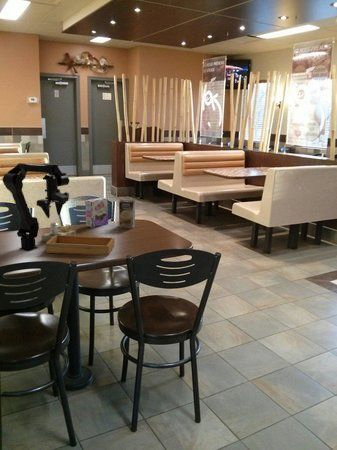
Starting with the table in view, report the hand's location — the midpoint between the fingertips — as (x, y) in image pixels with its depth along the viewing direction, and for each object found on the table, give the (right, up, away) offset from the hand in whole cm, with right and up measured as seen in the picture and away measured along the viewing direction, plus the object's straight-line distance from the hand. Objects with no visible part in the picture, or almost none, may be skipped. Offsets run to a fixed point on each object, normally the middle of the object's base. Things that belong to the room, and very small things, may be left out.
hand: (53, 216), depth 216 cm
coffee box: (+36, -6, +33) cm, 49 cm away
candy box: (+17, -5, +36) cm, 40 cm away
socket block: (+1, -12, +6) cm, 13 cm away
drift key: (+4, -11, +11) cm, 15 cm away
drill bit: (0, -13, +3) cm, 13 cm away
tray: (+18, -18, -13) cm, 28 cm away
